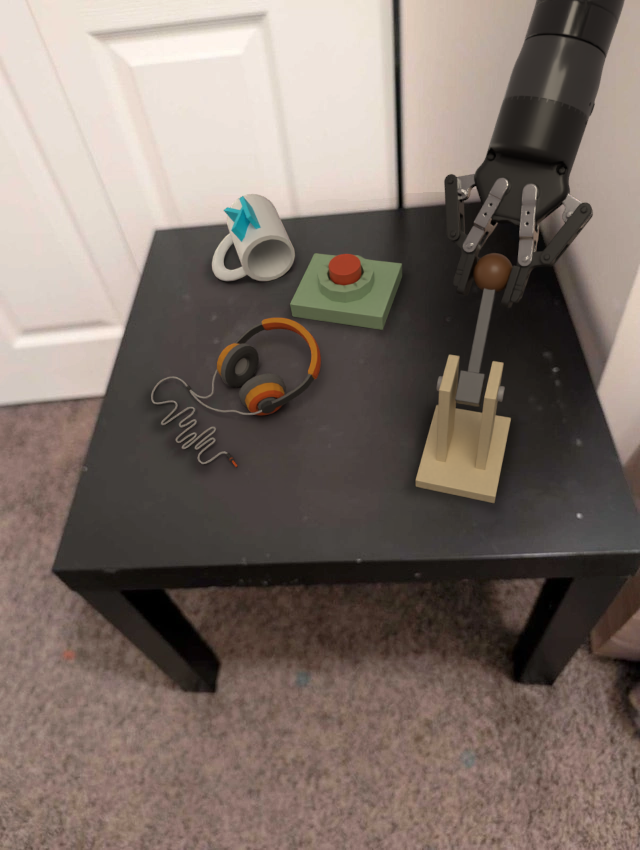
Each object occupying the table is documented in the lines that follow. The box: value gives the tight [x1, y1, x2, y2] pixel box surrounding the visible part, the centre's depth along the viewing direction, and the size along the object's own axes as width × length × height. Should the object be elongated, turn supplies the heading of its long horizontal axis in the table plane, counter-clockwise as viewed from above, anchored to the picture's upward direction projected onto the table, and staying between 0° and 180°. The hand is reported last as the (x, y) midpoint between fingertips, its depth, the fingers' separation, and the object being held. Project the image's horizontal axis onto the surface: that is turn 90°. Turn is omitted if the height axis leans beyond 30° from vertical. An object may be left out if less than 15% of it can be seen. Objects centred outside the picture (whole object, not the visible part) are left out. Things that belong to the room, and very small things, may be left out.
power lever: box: [455, 252, 513, 408], centre depth 62 cm, size 14×4×4 cm
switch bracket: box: [415, 354, 512, 504], centre depth 65 cm, size 10×8×13 cm
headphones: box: [150, 317, 322, 468], centre depth 77 cm, size 17×5×20 cm
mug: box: [211, 193, 296, 282], centre depth 91 cm, size 12×9×12 cm
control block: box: [289, 252, 403, 331], centre depth 85 cm, size 12×10×4 cm
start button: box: [329, 253, 362, 285], centre depth 83 cm, size 4×4×2 cm
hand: (484, 299), depth 62 cm, fingers closed on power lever, 3 cm apart
